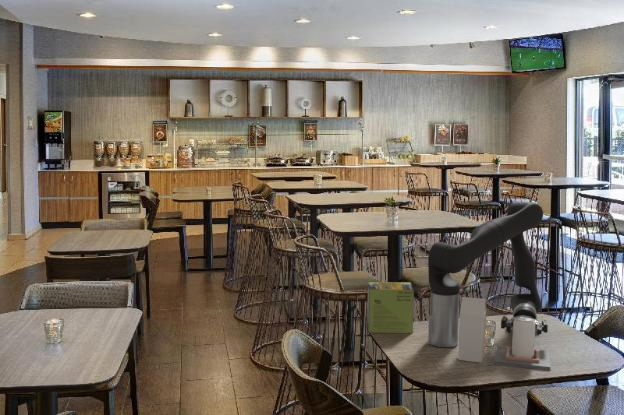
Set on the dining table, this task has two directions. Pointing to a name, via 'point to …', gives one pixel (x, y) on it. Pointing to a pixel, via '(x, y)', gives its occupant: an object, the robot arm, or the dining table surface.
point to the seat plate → (537, 362)
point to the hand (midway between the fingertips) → (523, 331)
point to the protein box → (390, 307)
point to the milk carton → (472, 329)
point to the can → (523, 337)
